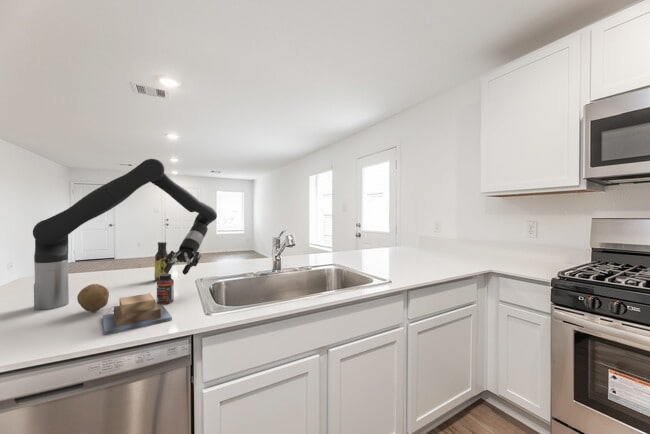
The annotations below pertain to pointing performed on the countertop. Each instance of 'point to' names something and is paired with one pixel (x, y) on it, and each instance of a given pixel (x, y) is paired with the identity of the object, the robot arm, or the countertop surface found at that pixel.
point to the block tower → (135, 314)
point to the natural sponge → (93, 297)
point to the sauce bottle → (160, 260)
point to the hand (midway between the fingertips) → (174, 273)
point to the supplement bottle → (165, 289)
